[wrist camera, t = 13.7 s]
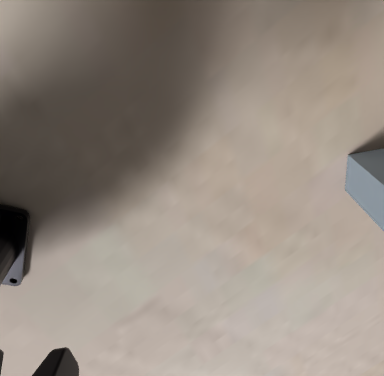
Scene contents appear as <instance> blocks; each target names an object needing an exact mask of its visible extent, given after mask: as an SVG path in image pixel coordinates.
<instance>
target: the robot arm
mask: <svg viewBox="0 0 384 376" xmlns="http://www.w3.org/2000/svg"><path fill="white" fill-rule="evenodd" d="M18 216H21V217H22V218H23V219H21V218H19V217H18ZM29 222H30V215H29V213H28V212H27V211H26V210H23V209H19V208H15V207H10V206H5V205H1V204H0V285H1V284H5V285H11V286H18V285H20V284H21V282H22V280H23V276H24V267H25V258H26V249H27V240H28V231H29ZM3 354H4V353H3V351H2V350H0V374H1V367H2V361H3ZM32 376H79V366H78V363H77V361H76V360H75V358H74V356H73V355H72V353H71V351H70V350H69V349H68V348H67V347H65V348H59V349H54V350H52V351H51V352H50V353H49V354H48V356H47V357H46V358H45V359H44V361H43V362H42V363H41V365H40V366H39V367H38V369H37V370H36V371H35V372H34V374H33V375H32Z"/></svg>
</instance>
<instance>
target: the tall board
mask: <svg viewBox="0 0 384 376" xmlns="http://www.w3.org/2000/svg"><path fill="white" fill-rule="evenodd" d="M345 191H346V192H347V193H348V194H349V195H350V196H351V197H352V198H353V199H354V200H355V201H356V202H357V203H358V205H359V206H360V207H361V208H362V209H363V210H364V211H365V212H366V213H367V214H368V215H369V216H370V217H371V218H372V220H373V221H374V222H375V223H376V224H377V225H378V226H379V227H380V228H381V229H382V230H383V231H384V148H383V149H377V150H372V151H366V152H361V153H355V154H350V155H348V161H347V173H346V185H345Z"/></svg>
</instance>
